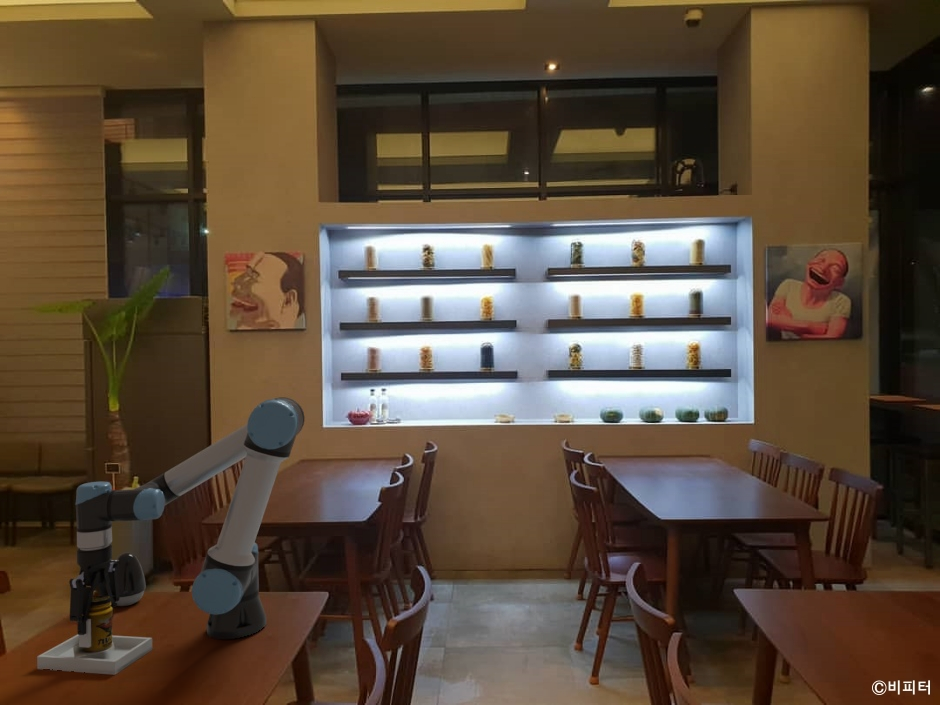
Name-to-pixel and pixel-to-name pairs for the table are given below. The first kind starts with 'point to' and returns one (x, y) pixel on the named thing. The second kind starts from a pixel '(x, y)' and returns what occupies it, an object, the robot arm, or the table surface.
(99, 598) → the condiment
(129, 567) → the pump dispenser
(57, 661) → the white tray
